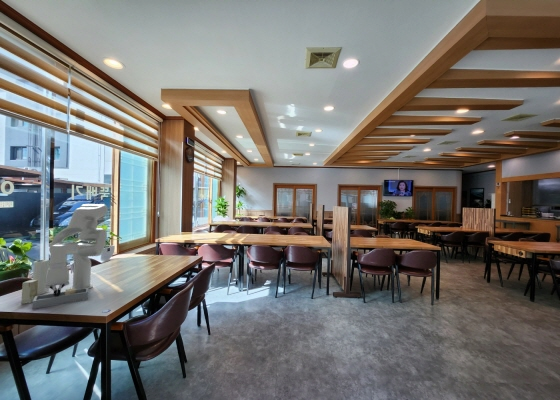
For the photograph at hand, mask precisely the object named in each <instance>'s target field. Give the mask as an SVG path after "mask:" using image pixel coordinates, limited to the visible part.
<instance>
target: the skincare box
mask: <svg viewBox="0 0 560 400" xmlns="http://www.w3.org/2000/svg"><path fill="white" fill-rule="evenodd" d="M21 286H22V287H21V288H22V289H21V302H20V303H21V305H23V304H24V305H25V304H31V303H33V300H34V298H35V296H38V295H37V290H38V280H33V279H29V280H27V281H24V282H22V285H21Z"/></svg>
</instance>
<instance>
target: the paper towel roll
mask: <svg viewBox="0 0 560 400" xmlns="http://www.w3.org/2000/svg"><path fill="white" fill-rule="evenodd" d="M32 268H33V271H32V280H38V290H37V296H39V295H44V294H47V292H49V289H50V288H45V286H46V276H47V271H48V268H50V259H47V260H46V259H44V260H43V259H42V260H41V259H40V260H35V261H33V267H32Z"/></svg>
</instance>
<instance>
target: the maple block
mask: <svg viewBox="0 0 560 400" xmlns="http://www.w3.org/2000/svg"><path fill="white" fill-rule="evenodd" d="M70 288H71V287H70ZM70 288H66V289H65V290H64V291H65V295H70V294H75V288H71V289H70Z"/></svg>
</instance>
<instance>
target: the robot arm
mask: <svg viewBox="0 0 560 400" xmlns="http://www.w3.org/2000/svg"><path fill="white" fill-rule="evenodd" d="M108 212H109V207H108V205H106V204H104V203H103V204H102V203H99V204H98V203H97V204H95V203H85V204H84V203H83V204H81V205H80V206H79V207H77V208H75V210H73V213H72V216H71V217H70V220H69V223H68V225H67V226H66V227H65V228H64V229H62V230H60V231H59V232H58V233H56V235H55V236H54V237H53V238H52V240H51V242H50V245H49V250H48V251H49V256H50V257H49V260H50V268H48V271H47V276H46V286H45V288H49V289H51V290H52V291H53V293H54V295H53V296H55V297H58V296H59V295H60V292H62V291H61V290H62V289H63V288H64V287H66V286H69V285H70V269H69V265H71V262H69V261H68V256H69V255H71V256H73V272H72V273H73V274H72V286H71V287H69V289H71V288H75V290H77V289H83V288H88V290H89V289H91V288H93V287H94V285H93V283H91V279H92V278H91V275H92V261H91V259H90V257H99V256H101V255H102V254H103V253H104V250H105V245H106V242H107V237H108V232H107V230H106V229H105V228H101V227H100V228H98V220H99V219H101V218H103V217H105V216H106V215H107V213H108ZM77 234H79V241H81V242H63V241H64V240H65V239H67V238H69V237H72V236H74V235H77ZM57 286H58V288H57Z"/></svg>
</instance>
